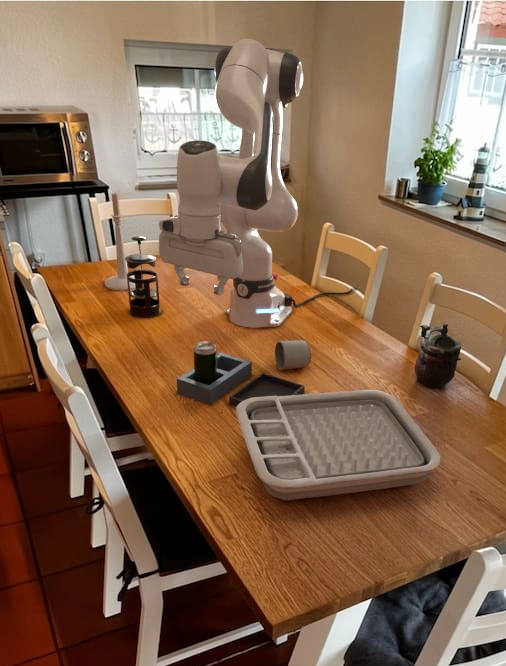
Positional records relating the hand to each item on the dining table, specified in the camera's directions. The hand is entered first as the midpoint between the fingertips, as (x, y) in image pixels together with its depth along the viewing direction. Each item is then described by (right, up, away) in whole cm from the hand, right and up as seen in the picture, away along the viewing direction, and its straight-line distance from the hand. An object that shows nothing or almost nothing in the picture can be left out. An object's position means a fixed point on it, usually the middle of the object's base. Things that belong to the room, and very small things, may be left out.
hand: (201, 289), depth 132 cm
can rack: (+1, -20, +15) cm, 25 cm away
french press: (-27, +5, +51) cm, 58 cm away
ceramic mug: (+19, -14, +27) cm, 36 cm away
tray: (+14, -24, +11) cm, 30 cm away
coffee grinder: (+56, -20, +24) cm, 64 cm away
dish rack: (+29, -38, -9) cm, 49 cm away
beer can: (-1, -22, +12) cm, 25 cm away
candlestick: (-40, +18, +71) cm, 83 cm away
